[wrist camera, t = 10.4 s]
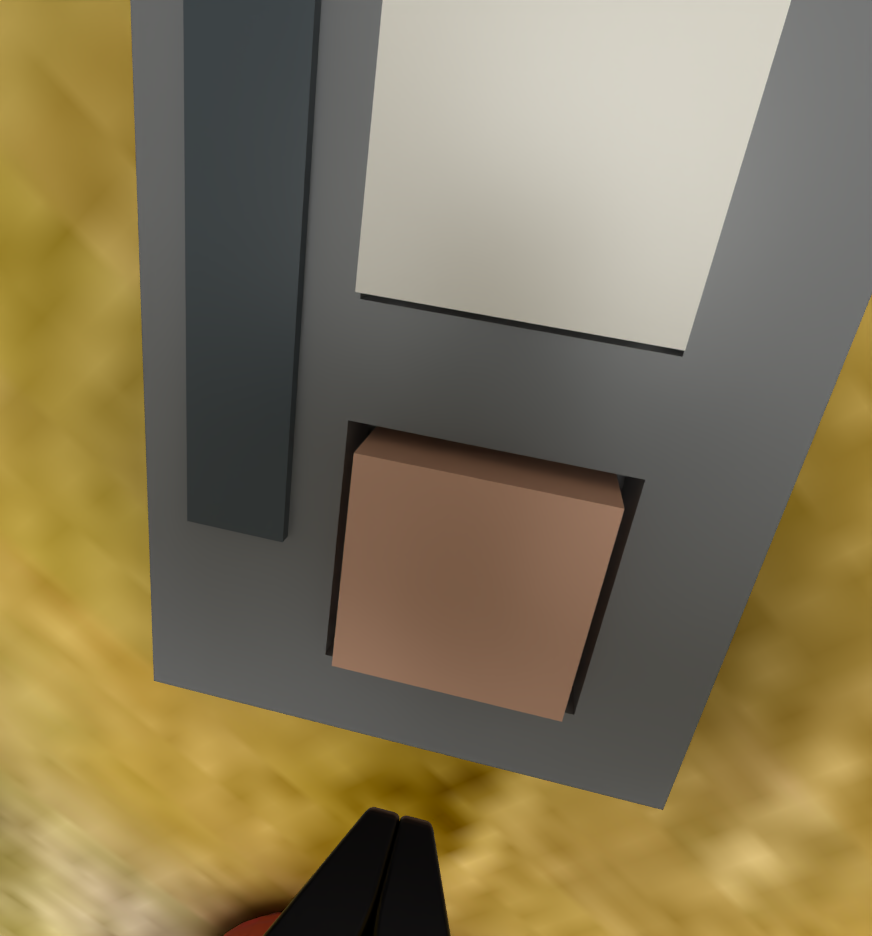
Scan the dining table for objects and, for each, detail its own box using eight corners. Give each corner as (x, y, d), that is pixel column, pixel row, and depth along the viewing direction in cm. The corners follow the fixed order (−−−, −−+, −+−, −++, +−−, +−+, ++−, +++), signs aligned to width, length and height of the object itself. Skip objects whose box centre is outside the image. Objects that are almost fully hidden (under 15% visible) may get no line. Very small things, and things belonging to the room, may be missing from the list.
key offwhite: (388, 279, 13) (355, 292, 11) (426, -54, 11) (394, -121, 9) (662, 327, 13) (685, 350, 10) (759, -15, 10) (813, -76, 8)
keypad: (207, 618, 20) (147, 688, 17) (219, -1025, 9) (54, -1639, 6) (647, 723, 19) (664, 820, 16) (1303, -1079, 8) (1785, -1915, 5)
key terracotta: (359, 609, 18) (331, 665, 15) (382, 419, 15) (353, 453, 13) (561, 656, 17) (561, 721, 15) (614, 465, 15) (624, 508, 13)
